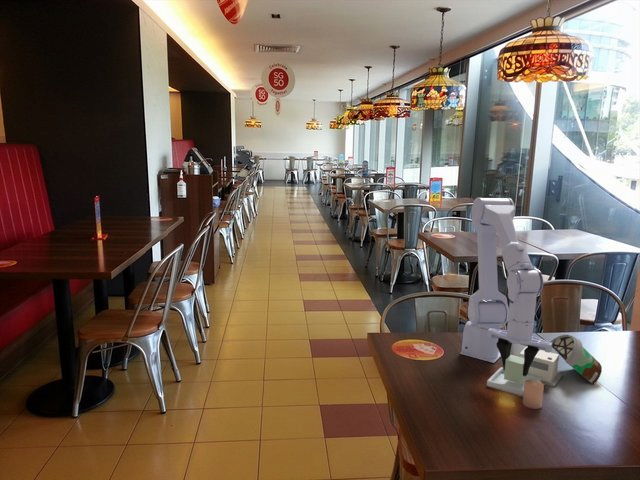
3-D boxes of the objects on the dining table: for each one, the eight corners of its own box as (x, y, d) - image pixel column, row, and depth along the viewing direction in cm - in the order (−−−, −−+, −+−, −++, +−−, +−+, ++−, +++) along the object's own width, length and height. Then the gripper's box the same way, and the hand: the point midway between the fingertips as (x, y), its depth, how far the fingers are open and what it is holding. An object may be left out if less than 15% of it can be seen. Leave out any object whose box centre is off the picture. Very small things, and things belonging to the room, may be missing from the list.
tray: (486, 385, 119) (487, 380, 119) (500, 372, 127) (500, 367, 127) (529, 399, 113) (530, 393, 113) (541, 383, 121) (541, 378, 121)
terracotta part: (520, 404, 111) (522, 384, 110) (525, 398, 114) (527, 378, 113) (538, 410, 108) (541, 389, 107) (543, 403, 111) (545, 383, 110)
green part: (503, 379, 119) (505, 359, 118) (509, 373, 122) (510, 354, 122) (520, 384, 117) (522, 364, 116) (525, 378, 120) (527, 359, 119)
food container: (615, 370, 119) (584, 344, 118) (596, 387, 120) (565, 362, 119) (591, 350, 131) (563, 326, 130) (574, 366, 132) (547, 342, 131)
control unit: (512, 375, 125) (514, 352, 124) (521, 365, 131) (523, 343, 130) (554, 387, 119) (557, 363, 118) (561, 376, 125) (564, 353, 124)
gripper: (485, 316, 118) (480, 368, 121) (549, 330, 110) (542, 386, 112) (494, 309, 124) (490, 359, 126) (556, 322, 115) (550, 376, 117)
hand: (515, 371), depth 119 cm, fingers closed on green part, 4 cm apart
